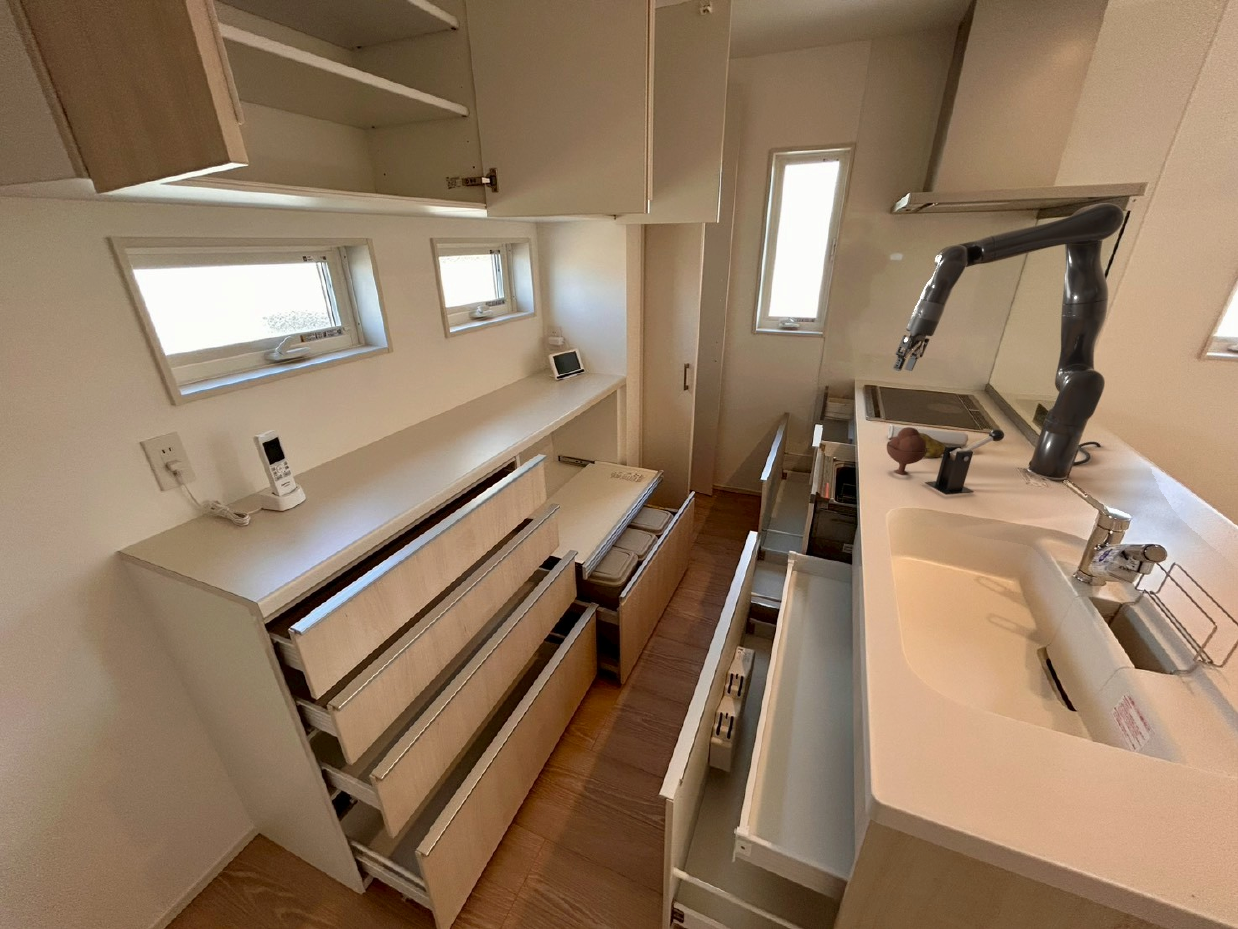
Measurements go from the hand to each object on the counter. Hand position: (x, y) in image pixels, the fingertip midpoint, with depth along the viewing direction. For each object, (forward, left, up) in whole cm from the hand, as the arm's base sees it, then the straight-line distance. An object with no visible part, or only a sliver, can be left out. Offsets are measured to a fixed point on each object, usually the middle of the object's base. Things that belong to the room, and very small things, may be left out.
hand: (902, 370), depth 155 cm
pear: (-15, +1, -30) cm, 33 cm away
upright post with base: (-2, +26, -29) cm, 39 cm away
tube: (-26, -11, -30) cm, 41 cm away
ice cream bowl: (+4, +14, -30) cm, 33 cm away
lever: (-8, +26, -17) cm, 32 cm away
